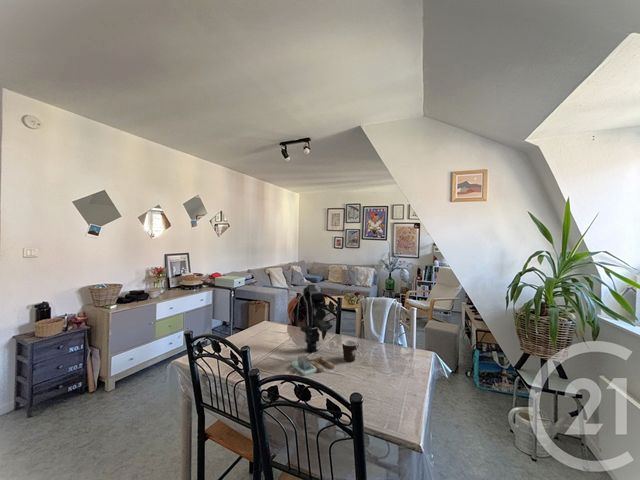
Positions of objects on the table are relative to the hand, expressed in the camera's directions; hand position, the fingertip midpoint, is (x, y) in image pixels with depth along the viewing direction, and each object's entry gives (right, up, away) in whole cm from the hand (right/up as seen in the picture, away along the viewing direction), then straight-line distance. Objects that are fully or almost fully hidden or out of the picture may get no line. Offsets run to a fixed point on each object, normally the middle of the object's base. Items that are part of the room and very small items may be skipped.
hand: (316, 341), depth 162 cm
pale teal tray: (-7, -12, -8) cm, 16 cm away
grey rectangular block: (-7, -12, -8) cm, 16 cm away
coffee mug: (+21, -12, +4) cm, 24 cm away
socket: (+3, -12, -5) cm, 13 cm away
